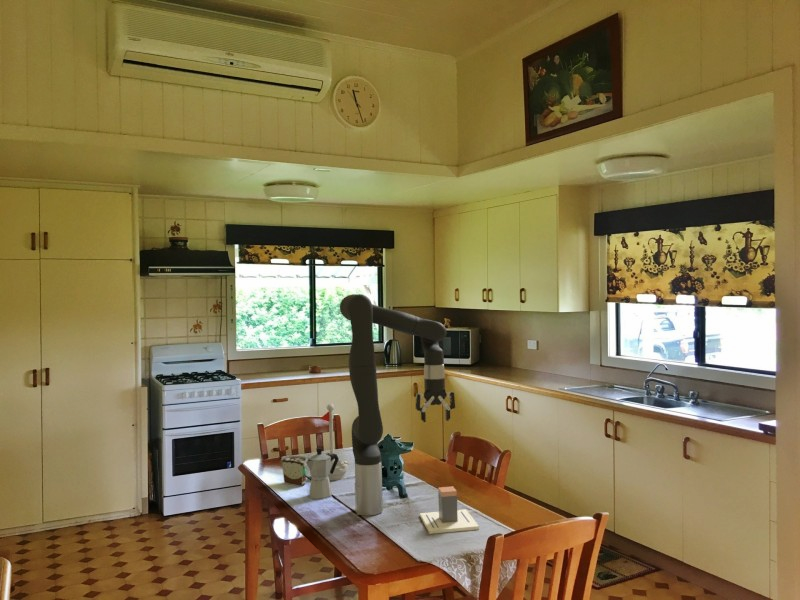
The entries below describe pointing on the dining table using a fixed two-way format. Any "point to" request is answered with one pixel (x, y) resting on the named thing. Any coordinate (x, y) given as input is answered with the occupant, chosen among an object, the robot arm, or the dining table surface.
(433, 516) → the notepad
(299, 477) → the food container
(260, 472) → the dining table surface
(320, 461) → the coffee maker
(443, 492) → the grey pink block
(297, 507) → the dining table surface
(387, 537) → the dining table surface
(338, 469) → the flag stand
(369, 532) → the dining table surface
